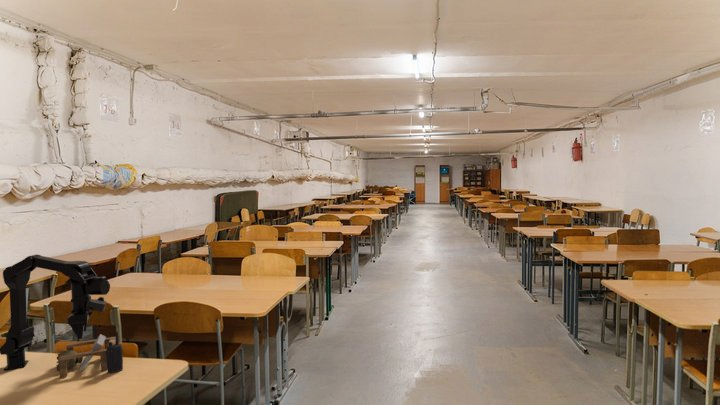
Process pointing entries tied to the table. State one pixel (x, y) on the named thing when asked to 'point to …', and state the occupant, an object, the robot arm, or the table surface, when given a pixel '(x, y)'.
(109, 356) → the two-way radio
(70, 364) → the brass rounded piece
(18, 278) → the robot arm
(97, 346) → the trapdoor
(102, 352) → the frame
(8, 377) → the table surface
